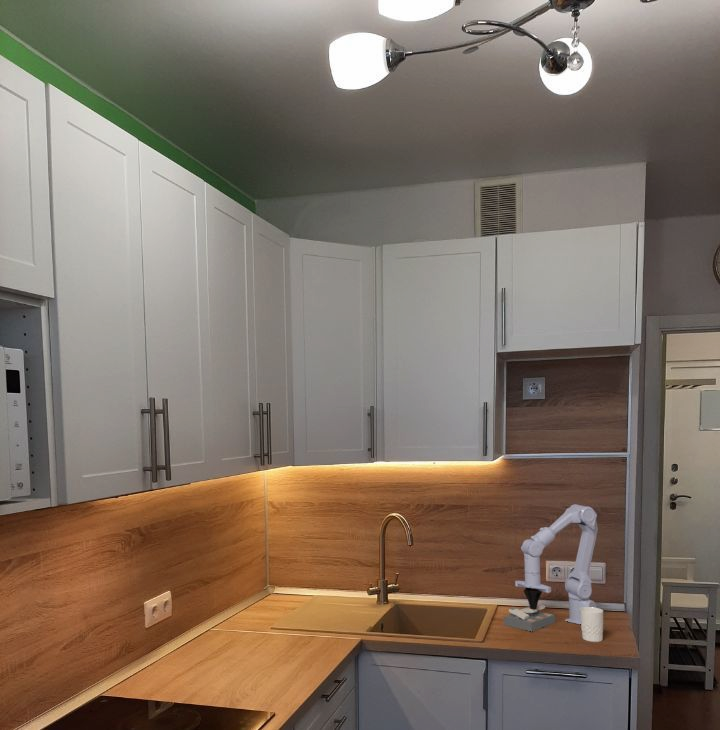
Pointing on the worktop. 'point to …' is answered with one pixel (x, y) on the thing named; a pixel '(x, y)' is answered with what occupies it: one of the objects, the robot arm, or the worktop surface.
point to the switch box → (530, 620)
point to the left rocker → (518, 613)
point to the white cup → (591, 624)
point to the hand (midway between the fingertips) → (533, 608)
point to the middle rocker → (527, 610)
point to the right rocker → (538, 607)
